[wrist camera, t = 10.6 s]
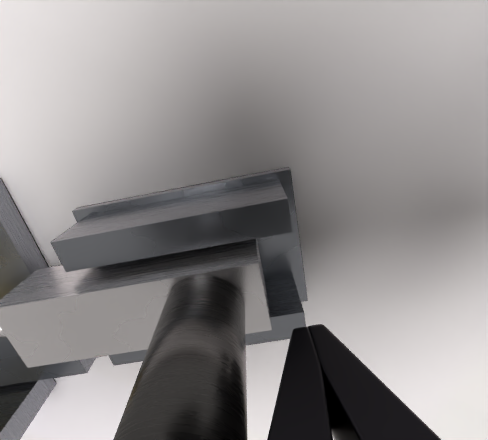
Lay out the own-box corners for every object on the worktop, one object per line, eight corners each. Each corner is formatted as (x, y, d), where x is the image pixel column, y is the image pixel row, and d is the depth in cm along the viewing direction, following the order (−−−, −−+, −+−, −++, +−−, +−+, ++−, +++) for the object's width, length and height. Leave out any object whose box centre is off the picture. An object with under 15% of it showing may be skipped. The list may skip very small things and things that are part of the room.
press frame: (282, 120, 11) (325, 141, 5) (312, 345, 15) (353, 486, 10) (-271, 233, 12) (-688, 340, 7) (-99, 406, 17) (-267, 558, 11)
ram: (255, 230, 11) (274, 417, 5) (266, 287, 12) (294, 505, 6) (-32, 281, 12) (-364, 502, 5) (2, 331, 13) (-241, 566, 6)
